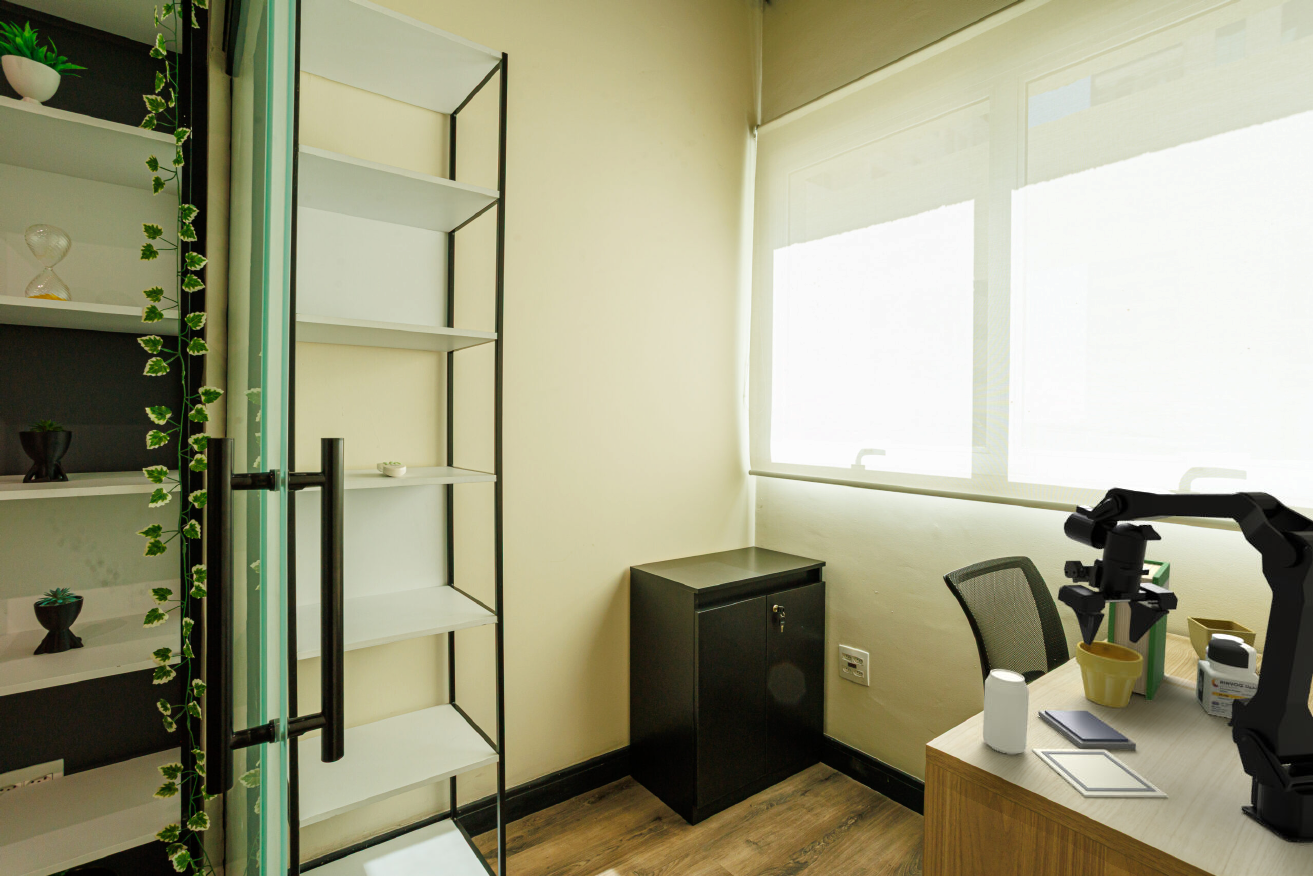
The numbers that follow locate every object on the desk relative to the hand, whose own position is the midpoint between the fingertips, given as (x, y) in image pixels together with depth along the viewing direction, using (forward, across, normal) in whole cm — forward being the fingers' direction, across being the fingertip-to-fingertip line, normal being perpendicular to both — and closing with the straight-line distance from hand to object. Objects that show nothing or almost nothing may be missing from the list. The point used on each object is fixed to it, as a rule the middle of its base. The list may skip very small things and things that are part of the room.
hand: (1110, 643), depth 109 cm
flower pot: (+17, -49, -19) cm, 55 cm away
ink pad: (+14, +7, +4) cm, 16 cm away
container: (+15, -27, 0) cm, 31 cm away
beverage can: (+14, +24, +6) cm, 29 cm away
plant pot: (+15, -8, -6) cm, 18 cm away
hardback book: (+16, -22, -13) cm, 30 cm away
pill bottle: (+15, -35, -6) cm, 39 cm away
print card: (+13, +15, +15) cm, 25 cm away
